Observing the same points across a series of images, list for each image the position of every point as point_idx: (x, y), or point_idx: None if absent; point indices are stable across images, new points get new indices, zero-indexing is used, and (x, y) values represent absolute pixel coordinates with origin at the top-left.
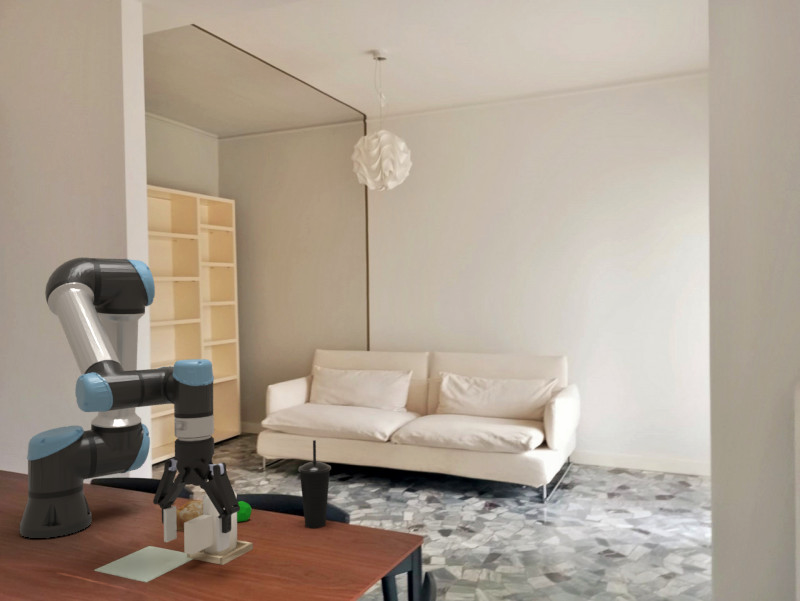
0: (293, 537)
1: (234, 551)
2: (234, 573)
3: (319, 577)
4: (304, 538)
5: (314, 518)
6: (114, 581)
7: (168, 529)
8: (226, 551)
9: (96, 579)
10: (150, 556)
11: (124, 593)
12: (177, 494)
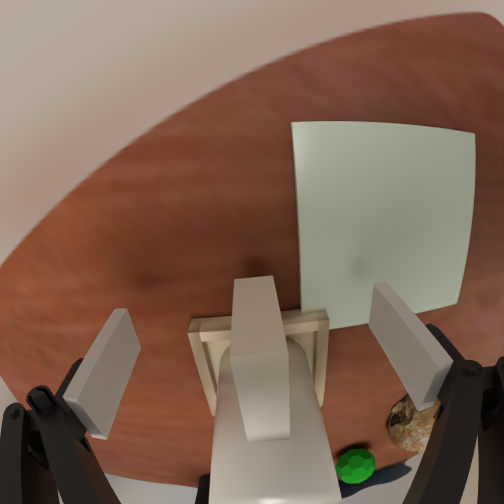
0: (202, 452)
1: (205, 374)
2: (134, 304)
3: (20, 346)
4: (182, 453)
5: (203, 488)
6: (395, 106)
7: (391, 317)
8: (221, 366)
9: (440, 103)
10: (421, 263)
11: (299, 56)
12: (423, 462)
